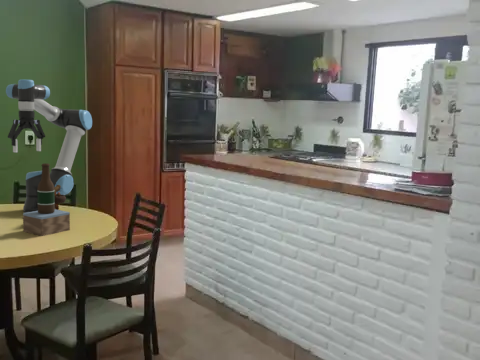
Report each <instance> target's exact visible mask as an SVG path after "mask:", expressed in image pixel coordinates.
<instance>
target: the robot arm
mask: <svg viewBox="0 0 480 360" xmlns="http://www.w3.org/2000/svg"><path fill="white" fill-rule="evenodd" d="M5 94H6V96H7V97H8V98H10V99H15V100H17V102H18V119H13V121H12V125H11V128H10V129H9V132H8V135H7V138H8V139H10V140H11V146H12V153H18V152H19V149H18V147H19V145H18V144H19V143H18V139H17V138H18V136H20V133H22V131H23V130H26V129H28V130H29V129H30V130H31V131H32V133H33V134H34V135H35V136H36V141H35V142H36V152H42V144H43V139H44V138H46V134H45V132H44V129H43V127H42V125H41V121H40V119H35V117H36V116H35V111H36V112H37V113H39V114H40V115H42V116H43V117H44V118H45V119H46V120H47V121H48V122H49V123H51V124H53V125H55V126H58V127H59V128H62V129H65V130H66V133H65V136H64V139H63V142H62V144H61V145H62V146H61V148H60V152H59V154H58V158H57V161H56V164H55V166H54V167H52V168H51V170H50V179H51V181H52V183H53V185H54V187H56V185H60V186H61V188H60V191H58V192H60V194H61V195H64V196H66V195H68V194H69V193H70V192H71V191H72V189H73V188H74V184H75V183H74V178H73V173H72V172H71V170H72V168H73V167H72V166H73V164H74V160H75V158H76V154H77V151H78V149H79V146H80V141H81V138H82V137H83V136H84V135H85V134H86V131H89V130H91V129H92V126H93V118H92V114H91V113H90V111H88V110H86V109H85V110H84V109H71V108H70V109H66V108H65V109H64V108H59V107H58V106H55V105H54V106H52V105H51V104H50V103H48V102H47V101H46V100H47V99H49V98H50V95H51V90H50V88H49V87H48V86H46V85H44V84H35V81H34V80H33V79H19V80H18V81H17V83H12V84H8V85H7V86H6V88H5ZM41 178H42V170H37V171H35V170H34V171H30V172H27V173H26V174H25V192H26V195H25V196H26V198H25V200H24V204H23V208H22V209H23V213H27V212H33V211H38V198H37V189H38V184H39V183H40V181H41ZM58 192H56V194H58Z"/></svg>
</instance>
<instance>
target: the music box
mask: <svg viewBox="0 0 480 360" xmlns="http://www.w3.org/2000/svg"><path fill="white" fill-rule="evenodd" d="M60 188H61V186H60V185H56V187H54V190H55V209H56V210H60V206H59V204H64V203H65V202H66V201H67V197H66V195H61V194H60V192H58V191H60ZM56 192H58V194H56Z"/></svg>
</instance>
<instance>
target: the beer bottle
mask: <svg viewBox="0 0 480 360" xmlns="http://www.w3.org/2000/svg"><path fill="white" fill-rule="evenodd" d="M50 167H51V166H50V163H42V164H41V171H42V178H41V181H40V183H39V184H38V189H37V198H38V213H40V214H51V213H54V212H55V190H54V185H53V183H52V181H51V179H50V172H51V170H50Z"/></svg>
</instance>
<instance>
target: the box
mask: <svg viewBox="0 0 480 360" xmlns="http://www.w3.org/2000/svg"><path fill="white" fill-rule="evenodd" d="M70 214H71V213H70ZM70 214H68V215H63V216H57V217H52V218H47V219H38V218H33V217H29V216H24V215H23V214H22V223H23V224H22V225H23V227H22V228H23V233H28V234H32V235H36V236H40V237H45V236H49V235H53V234H58V233H62V232H67V231H70V230H71V224H70V223H71V221H70V220H71V219H70V216H71V215H70Z"/></svg>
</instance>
